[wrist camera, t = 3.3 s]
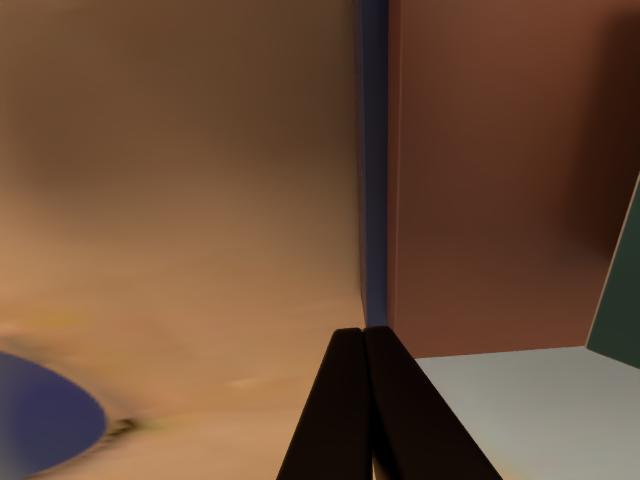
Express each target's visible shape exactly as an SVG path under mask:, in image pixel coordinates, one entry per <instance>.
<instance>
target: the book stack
mask: <svg viewBox="0 0 640 480" xmlns="http://www.w3.org/2000/svg"><path fill="white" fill-rule="evenodd" d="M353 28H354V61H355V95H356V129H357V162H358V196H359V230H360V263H361V297H362V304H363V311H364V318H365V326H366V327H371V326H384V325H385V326H389V327H390V328H391V329H392V330H393V331H394V333H395V334H396V335H397V337H398V338H399V339H400V341H401V342H402V343H403V345H404V346H405V347H406V349H407V350H408V352H409V353H410V354H411V356H412V357H413V358H414V359H416V358H429V357H442V356H456V355H469V354H482V353H495V352H509V351H522V350H535V349H548V348H562V347H575V346H585V342H586V339H587V336H588V333H589V330H590V327H591V323H592V320H593V317H594V314H595V311H596V308H597V304H598V301H599V298H600V295H601V292H602V289H603V285H604V282H605V279H606V276H607V273H608V270H609V266H610V263H611V260H612V257H613V254H614V251H615V248H616V244H617V241H618V238H619V235H620V232H621V229H622V225H623V222H624V219H625V216H626V213H627V210H628V206H629V203H630V200H631V197H632V194H633V191H634V187H635V184H636V181H637V178H638V175H639V172H640V0H353Z"/></svg>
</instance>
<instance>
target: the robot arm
mask: <svg viewBox="0 0 640 480" xmlns="http://www.w3.org/2000/svg"><path fill="white" fill-rule="evenodd" d="M372 458H373V460H372ZM373 466H374V472H375V477H376V480H503V479H502V477H501V476H500V475H499V473H498V472H497V471H496V469H495V468H494V467H493V465H492V464H491V463H490V461H489V460H488V459H487V457H486V456H485V454H484V453H483V452H482V450H481V449H480V448H479V446H478V445H477V444H476V442H475V441H474V440H473V438H472V437H471V436H470V434H469V433H468V431H467V430H466V429H465V427H464V426H463V425H462V423H461V422H460V421H459V419H458V418H457V417H456V415H455V414H454V412H453V411H452V410H451V408H450V407H449V406H448V404H447V403H446V402H445V400H444V399H443V398H442V396H441V395H440V394H439V392H438V391H437V389H436V388H435V387H434V385H433V384H432V383H431V381H430V380H429V379H428V377H427V376H426V375H425V373H424V372H423V371H422V369H421V368H420V366H419V365H418V364H417V362H416V361H415V360H414V358H413V357H412V356H411V354H410V353H409V352H408V350H407V349H406V347H405V346H404V345H403V343H402V342H401V341H400V339H399V338H398V337H397V335H396V334H395V333H394V331H393V330H392V329H391V328H390V327H389V326H385V325H384V326H371V327H365V328H364V329H363V331H361V329H360V328H344V329H337V330H335V331H334V333H333V335H332V337H331V340H330V342H329V345H328V347H327V350H326V353H325V355H324V358H323V360H322V363H321V365H320V368H319V371H318V373H317V376H316V378H315V381H314V383H313V386H312V389H311V391H310V394H309V396H308V399H307V401H306V404H305V407H304V409H303V412H302V414H301V417H300V419H299V422H298V424H297V427H296V430H295V432H294V435H293V437H292V440H291V442H290V445H289V448H288V450H287V453H286V455H285V458H284V460H283V463H282V466H281V468H280V471H279V473H278V476H277V478H276V480H373Z"/></svg>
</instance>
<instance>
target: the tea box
mask: <svg viewBox="0 0 640 480" xmlns="http://www.w3.org/2000/svg"><path fill="white" fill-rule="evenodd" d="M585 348H586V349H588V350H590V351H593V352H596V353H598V354H601V355H603V356H606V357H609V358H611V359H614V360H617V361H619V362H622V363H624V364H627V365H630V366H632V367H635V368H638V369H640V172H639V175H638V178H637V181H636V184H635V187H634V191H633V194H632V197H631V200H630V203H629V206H628V210H627V213H626V216H625V219H624V222H623V225H622V229H621V232H620V235H619V238H618V241H617V244H616V248H615V251H614V254H613V257H612V260H611V263H610V266H609V270H608V273H607V276H606V279H605V282H604V285H603V289H602V292H601V295H600V298H599V301H598V304H597V308H596V311H595V314H594V317H593V320H592V323H591V327H590V330H589V333H588V336H587V339H586V342H585Z"/></svg>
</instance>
